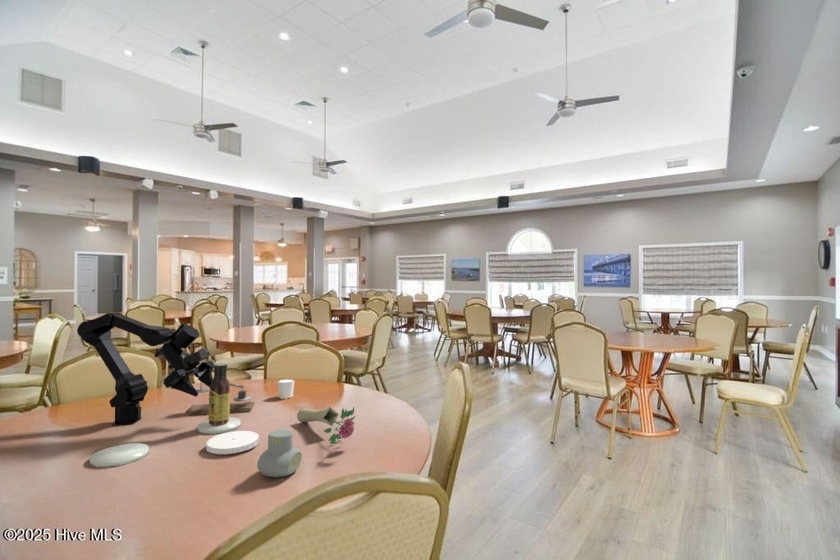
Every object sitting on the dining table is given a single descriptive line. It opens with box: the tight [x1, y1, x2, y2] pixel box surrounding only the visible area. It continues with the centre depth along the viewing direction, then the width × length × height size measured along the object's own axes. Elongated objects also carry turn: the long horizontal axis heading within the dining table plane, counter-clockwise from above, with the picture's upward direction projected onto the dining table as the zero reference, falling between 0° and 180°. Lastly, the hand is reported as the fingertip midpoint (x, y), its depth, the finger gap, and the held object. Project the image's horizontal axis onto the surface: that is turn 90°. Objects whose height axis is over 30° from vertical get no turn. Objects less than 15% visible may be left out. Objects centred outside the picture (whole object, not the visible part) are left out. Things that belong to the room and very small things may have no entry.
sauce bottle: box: [208, 362, 231, 426], centre depth 135 cm, size 6×6×20 cm
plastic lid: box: [205, 430, 260, 455], centre depth 119 cm, size 14×14×2 cm
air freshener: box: [256, 428, 303, 478], centre depth 103 cm, size 11×8×10 cm
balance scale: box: [185, 382, 255, 416], centre depth 153 cm, size 22×8×13 cm, turn 103°
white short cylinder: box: [277, 378, 295, 399], centre depth 172 cm, size 7×7×7 cm
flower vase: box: [296, 405, 356, 445], centre depth 127 cm, size 12×12×35 cm
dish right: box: [196, 416, 242, 435], centre depth 135 cm, size 13×13×1 cm
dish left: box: [89, 442, 150, 468], centre depth 111 cm, size 13×13×1 cm
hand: (206, 391), depth 136 cm, fingers open, 9 cm apart
